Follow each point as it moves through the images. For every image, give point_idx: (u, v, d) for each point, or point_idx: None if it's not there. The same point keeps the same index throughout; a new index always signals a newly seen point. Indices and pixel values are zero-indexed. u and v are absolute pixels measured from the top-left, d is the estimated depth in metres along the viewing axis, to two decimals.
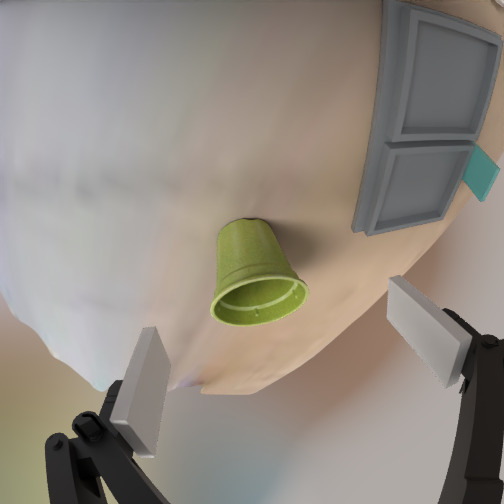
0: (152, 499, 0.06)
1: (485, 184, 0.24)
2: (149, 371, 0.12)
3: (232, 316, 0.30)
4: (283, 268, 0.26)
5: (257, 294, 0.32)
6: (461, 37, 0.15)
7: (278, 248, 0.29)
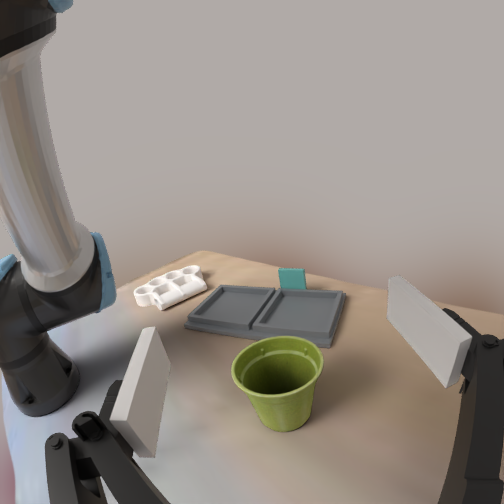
0: (152, 499, 0.06)
1: (291, 272, 0.55)
2: (149, 371, 0.12)
3: None
4: (259, 353, 0.32)
5: (313, 388, 0.28)
6: (215, 302, 0.59)
7: (273, 372, 0.33)
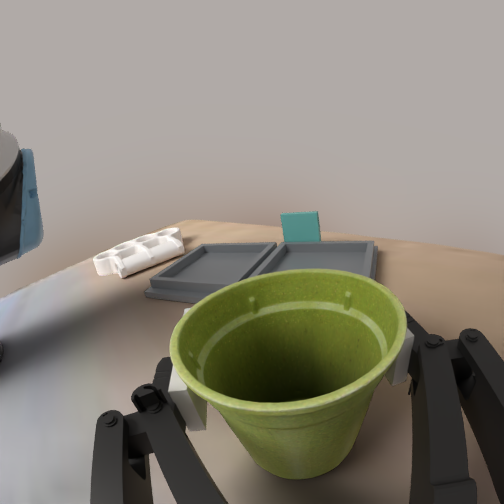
0: (201, 477, 0.06)
1: (299, 217, 0.38)
2: None
3: None
4: (246, 307, 0.15)
5: None
6: (192, 264, 0.42)
7: (277, 352, 0.16)
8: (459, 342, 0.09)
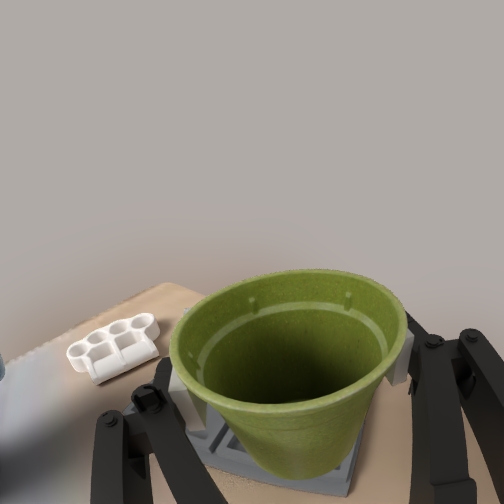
0: (201, 478, 0.06)
1: None
2: None
3: None
4: (246, 308, 0.15)
5: None
6: None
7: (277, 353, 0.16)
8: (459, 342, 0.09)
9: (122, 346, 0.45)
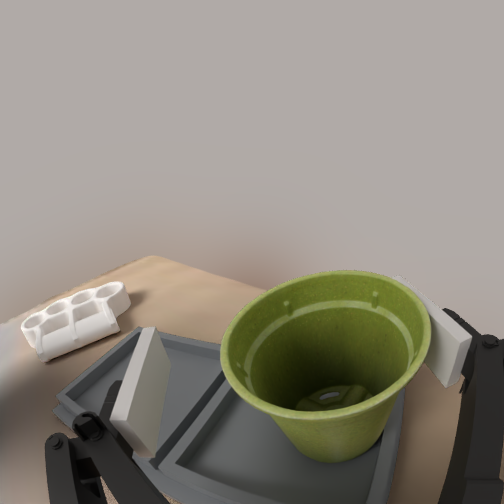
0: (152, 499, 0.06)
1: None
2: (149, 371, 0.12)
3: None
4: (281, 311, 0.16)
5: (402, 376, 0.12)
6: (119, 366, 0.25)
7: (311, 347, 0.17)
8: None
9: None
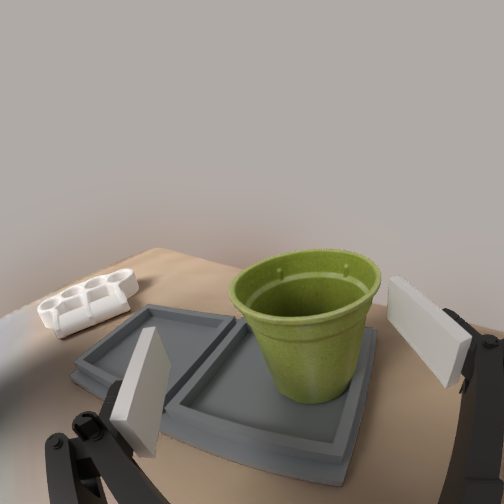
0: (152, 499, 0.06)
1: None
2: (149, 371, 0.12)
3: None
4: (275, 276, 0.22)
5: (363, 323, 0.17)
6: (130, 337, 0.30)
7: (296, 310, 0.23)
8: None
9: None
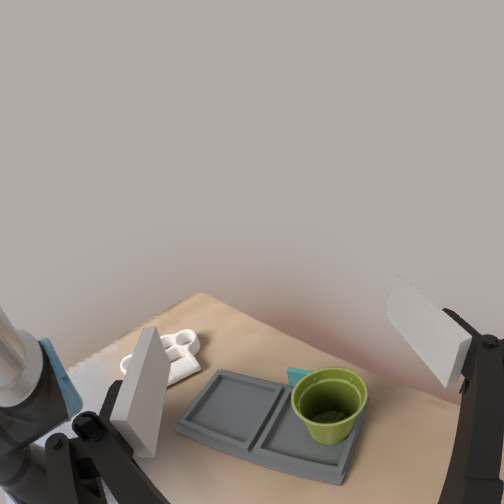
0: (151, 499, 0.06)
1: (303, 375, 0.40)
2: (149, 371, 0.12)
3: None
4: (312, 381, 0.36)
5: None
6: (211, 397, 0.45)
7: (322, 395, 0.37)
8: None
9: None
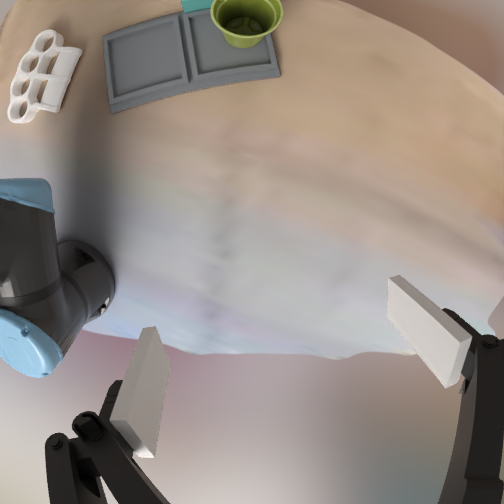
0: (152, 499, 0.06)
1: None
2: (149, 371, 0.12)
3: None
4: (219, 2, 0.28)
5: (271, 17, 0.31)
6: (116, 63, 0.35)
7: (228, 9, 0.31)
8: None
9: (44, 70, 0.33)
